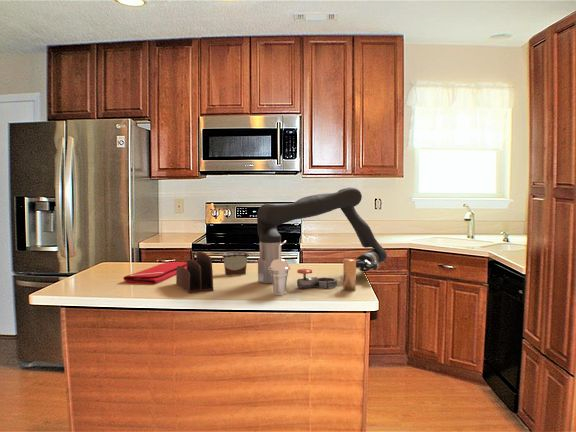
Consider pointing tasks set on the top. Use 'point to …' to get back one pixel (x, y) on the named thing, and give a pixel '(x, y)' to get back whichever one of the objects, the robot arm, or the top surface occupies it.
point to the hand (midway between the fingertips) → (356, 267)
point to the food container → (235, 263)
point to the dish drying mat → (155, 273)
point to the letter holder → (196, 274)
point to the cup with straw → (279, 274)
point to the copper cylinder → (349, 274)
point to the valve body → (314, 281)
